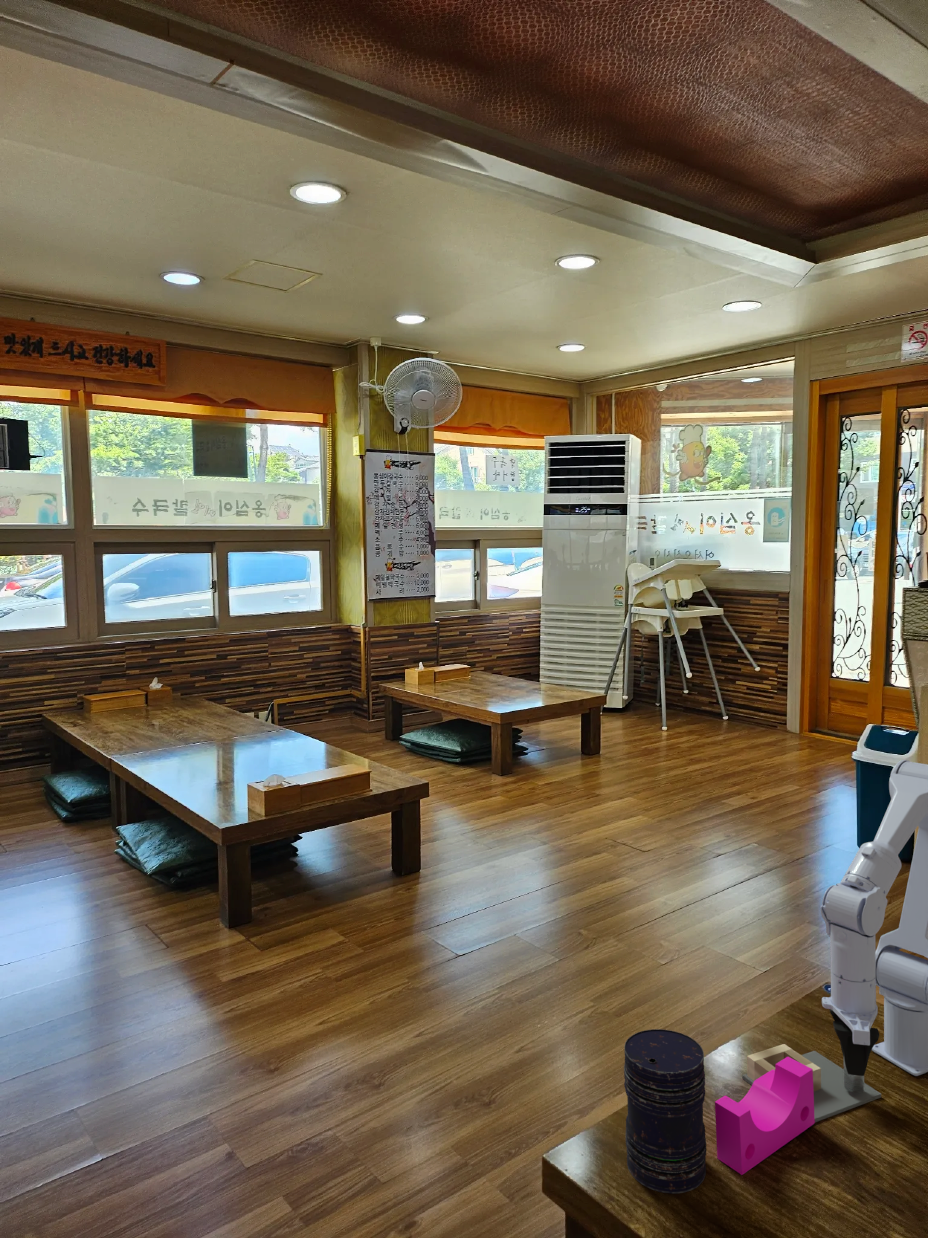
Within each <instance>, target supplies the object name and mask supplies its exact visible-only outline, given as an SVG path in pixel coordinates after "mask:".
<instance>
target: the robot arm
mask: <svg viewBox="0 0 928 1238" xmlns="http://www.w3.org/2000/svg"><path fill="white" fill-rule="evenodd" d="M889 776H890V777H889V781H888V790H889V795H890V802H889V804H888V805H887V809H886V811H885V813H884V816H883V818H882V821H881V823H880V826H879V827H878V830H877V832H876V834H875V836H874V839H873V841H868V842H864V843H862V844H861V845H860V847H859V849H858V851H857V852H856V854H855V856H854V858H853V859H852V861H851V863H850V865H849V866H848V868H847V870H846V872H845V874H844V875H843V877H842V879H841V881H840V882H839V883H836V884H832V885H830V886H829V887H827V889H826V890H825V892H824V894H823V896H822V897H823V898H822V902H821V905H820V915H821V918H822V919H823V922H824V923H825V933H826V935H827V936H828V937H830V938H829V939H830V940H829V942H830V943H829V944H830V952H829V953H830V996H829V997H827V996H823V997H822V998H821V1005H822V1007H823V1008H824V1009H826V1010H827V1009H828V1010H829V1013H830V1015H831V1017H832V1018H833V1021H832V1025H833V1029H834V1032H835V1034H836V1036H837V1039H838V1040H839V1041H840V1042H839V1043H840V1049H841V1053H842V1056H843V1057H842V1058H843V1062H844V1061H845V1065H846V1069H847V1072H848V1074H850V1075H858V1076H864V1077H865V1074H866V1071H867V1066H868V1063H869V1059H870V1055H871V1053H872V1052H874V1053H875V1054H877V1055H879V1056H881V1058H884V1059H885V1060H887V1061H889V1062H891V1063H892V1064H893V1065H896V1066H897V1067H899V1068H901V1069H902V1070H904V1071H905V1072H907V1073H908V1074H911V1075H912V1076H914V1077H919V1076H921V1075H923V1074H926V1073H928V764H927V763H920V762H914V761H910V760H908V759H901V760H899V761H898V762H896V764H894V766H893V768H892V770H891V771H890V775H889ZM917 828H918V830H917V834H916V838H915V839H916V840H915V845H914V849H913V855H912V860H911V865H910V869H909V875H908V880H907V885H906V890H905V896H904V900H903V905H902V909H901V910H902V911H901V915H900V921H899V925H898V928H896V929H894V930H891V931H888V932H886V933H885V934H884V933H883V934H882V935H880V938H879V941H878V943H877V947H876V934H878V932H879V931H880V929H881V927H882V926H883V923H884V920H885V915H886V908H887V906H888V902H889V900H888V898H886V897H887V896H888V893H889V892H890V890H891V887H892V886H893V884H894V882H895V880H896V878H897V876H898V874H899V873H900V870H901V869H902V861H901V859H900V857H899V854H900V852H901V851H902V850H903V848H904V847H905V845H906V844H907V842H908V841H909V839H910V838H911V836H912V835H913V833H914V832H915V831H916V829H917ZM902 949H903V950H906V951H909V952H911V953H908V952H905V951H903V950H902ZM912 953H915V954H918V955H921V956H924V957H925V958H927V959H925V958H923V957H920V956H916V955H914V954H912ZM877 987H879V988H878V990H879V991H878V992H879V993H878V994H879V995H881V996H883V1019H884V1020H883V1021H884V1022H883V1029H884V1030H883V1031H884V1033H883V1036H884V1037H883V1039H884V1041H882V1042H879V1043H877V1042H878V1041H879V1039H880V1032H879V1029H878V1028H876V1027H872V1026H873V1024H874V1022H875V1020H876V1018H877V1016H878V1013H879V1012H878V1011H879V1010H878V1005H877ZM876 1043H877V1044H876Z"/></svg>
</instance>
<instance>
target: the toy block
mask: <svg viewBox="0 0 928 1238" xmlns="http://www.w3.org/2000/svg"><path fill="white" fill-rule="evenodd" d="M714 1112H715V1114H714V1115H715V1118H714V1119H715V1134H716V1135H715V1139H716V1158H717V1160H718V1161H720V1162H722V1163H723V1164H725V1165H726V1166H728V1167H730V1168H731V1169H732V1170H734V1171H735V1172H737V1173H738V1174H739V1175H741V1176H742V1175H744V1174H746V1173H747V1172H748V1171H750V1170H751V1169H752V1168H754V1167H756V1166H757V1165H758V1164H760V1163H761V1162H763V1161H764V1160H765V1159H767V1158H768V1157H770V1156H771V1155H772V1154H774V1153H775V1152H776V1151H778V1150H780V1149H781V1148H782V1147H783V1146H785V1145H787V1144H788V1143H789V1142H790V1141H792V1140H793V1139H795V1138H796V1137H798V1136H799V1135H801V1134H802V1133H803V1132H805V1131H806V1130H808V1128H810V1127H812V1126H813V1125H814V1124H815V1123H816V1122H815V1119H814V1092H813V1069H811V1068H809V1067H807V1066H805V1065H803V1064H802V1063H800V1062H798V1061H796V1060H794V1059H792V1058H790V1057H786V1058H785V1059H783V1060H781V1061H780V1062H778V1063H776V1064H775V1070H773V1069H772V1070H771V1071H769V1072H768V1073H766V1074H764V1075H763V1076H761V1077H760V1078H758V1079H756V1080H755V1081H754V1082H753V1084H752V1085H751V1087H750V1088H749V1090H748V1091H747V1093H746V1094H745V1095H744V1096H743V1098H742V1099H740V1100H739V1101H738V1102H737V1101H736V1100H734V1099H732V1098H730V1097H729V1096H728V1095H723V1096H722V1097H720V1098H719V1099H716V1100H715V1101H714Z"/></svg>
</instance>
